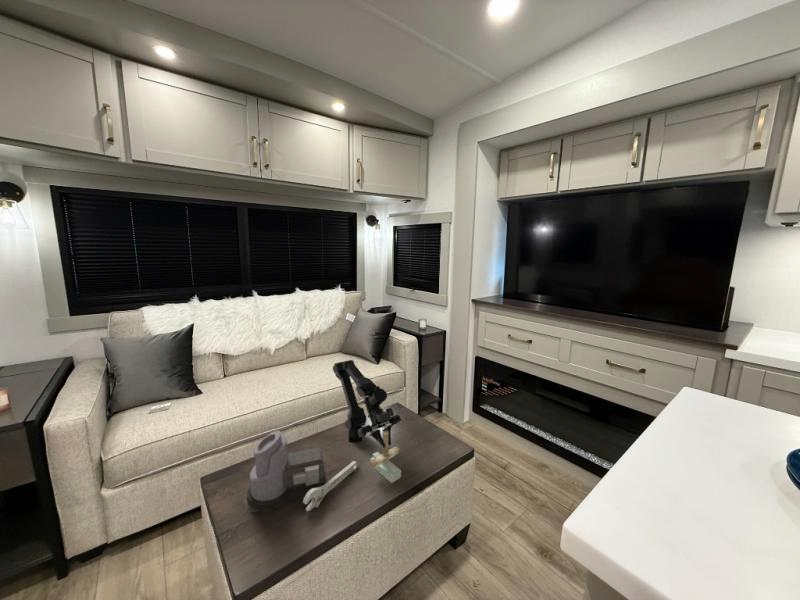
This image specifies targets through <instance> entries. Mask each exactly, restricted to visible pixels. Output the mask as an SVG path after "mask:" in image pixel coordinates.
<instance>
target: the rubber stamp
mask: <svg viewBox="0 0 800 600" xmlns="http://www.w3.org/2000/svg"><path fill="white" fill-rule="evenodd" d="M382 439H383V441H384V444H385V448H383V447H382V453H380V454H381V455H379V456H378V457H376V458H374V459H372V460H371V461H370V460H369V465H370V466H371V468H373V469H375V467H377V466H379V465H380V464H382V463H384V462H385V461H387V460H388V461H390V459H392V458H393V457H395V456H397V455H398V454H400V452H401V451H400V450H401V449H400V448H399V447H398V446H397V445H395V446H394V447H391V448H389V444H388V443H389V431H388V430H384V431H383V430H382Z"/></svg>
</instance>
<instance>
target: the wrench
mask: <svg viewBox="0 0 800 600" xmlns="http://www.w3.org/2000/svg"><path fill="white" fill-rule="evenodd" d="M358 465H359V464H358V462H357V461H355V460H352V461H351V462H350V463H349V464H348V465H346V466H345V467H344V468H343V469H341V470H340V471H339V472H338V473H336V474H335V475H334V476H333V477H332V478H331V479H329V480H328V481H327V483H326V484H325V485H323V486H320V487H317V488H312V489H310V490H309V491H308V492H307V494H306V495H305V497H303V501H302V504H304V505H307V504H308V505H307V506H306V507H305V511H306V512H310V511H312V510H313V509H315V508H319V506H320V504H321V502H322V500H323V499H324V498H325V496H326V495H327V494H328V493H329V492H330V491H331V490H332V489H333V488H335V487H336V486H337V485H339V483H341V482H342V481H344V480H345V479H346V477H348V476H349V475H350V474H351V473H353V472H354V471H355V470H356V469H357V468H358Z"/></svg>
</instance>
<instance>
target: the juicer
mask: <svg viewBox="0 0 800 600" xmlns="http://www.w3.org/2000/svg"><path fill="white" fill-rule="evenodd" d="M253 457H254V459H255V465H254V466H253V468H252V469H251V471H250V474H249V483H250V484H249V487H248V489H247V491H246V493H245V495H244V497H245V498H244V497H243V506H244V505H245V507H246V508H245V507H244V508H245V510H248V511H247V512H249V511H250V512H253V513H256V511H257V512H270V511H273V510H275V509H278V508H281V506H283V505H285V504H286V503H287V502H290V501H291V502H292V501H294V500H299V499H302V498H303V499H304V497H305V495H306V494H307V492H308V491H309V490H310V489H312V488H317V487H320V486H323V485H325V484H326V483H327V482H328V481H327V476H326V471H325V460H324V454H323V450H322V449H320V446H318V447H313V448H312V447H311V448H308V449H303V450H298V451H293V452H289V453H288V440H287V437H286V436H284V435H282V432H281V431H280V430H275V431H272V432H271V433H268V434H267V435H266V436H264V438H262V439H261V440H260V441H259V442H258V443H257V445H256V446H255V448H254V450H253ZM250 512H249V513H250Z"/></svg>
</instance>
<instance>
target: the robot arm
mask: <svg viewBox="0 0 800 600" xmlns="http://www.w3.org/2000/svg"><path fill="white" fill-rule="evenodd" d="M332 371H333V373H334V374H335V377H336V378H337V379H339V381H340V384H341V386H342V390H343V394H344V397H345V401H346V404H347V408H348V411H347V417H346V418H347V419H346V420H345V421H344V427H346V429H347V430H348V439H347V440H348V442H361V441H363V438H364V437H366V436H367V433H369V435H368V436H369V437H372V438H373V439H375V441H376V442H377V443H378V444H379V445H380V446H381V447H382V449H383V448H385V444H384V441H383V435H382V434H381V428H383V429H382V432H383V431H384V430H388V431H389V443H388V447H389V446H391V445H392V440H391V439H392V437H391V433H392V432H391V430H392V427H394V425H397V424H398V423H400V422H401V421H402V417H401V416H400V415H399V414H396V415H394V410H393V409H392V407H389V408H386V410H385V411H384V409H383V408H381V405H382V404H383V403H384V402H386V400H387V398H388V393H387V392H386V390H384V389H383V388H381V387H380V385H376V383H375V382H374V381H372V380H371V379H370V378H368V377H366V376H364V375H363V373H362V372H361V371H360V370H359V368H358V367H357V365H356V364H355V362H354V360H352V359H349V360H344V361H343V360H342V361H340V362H335V363H334V365H333V366H332ZM352 381H353V382H354V383H355V385H356V387H355V388H356V389H355V390H356V392H357V394H358V395H359V396H360V397H361V398H363V401H362V404H363V405H365V409H366V412H367V415H366V412H365V409H364V408H363V407H361V406H360V405H359V404H358V400H357V397H356V393H355V390H354V387H353V383H352ZM367 418H369V420H370V423H371V425H370V424H367V425H366V423H367Z"/></svg>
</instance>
